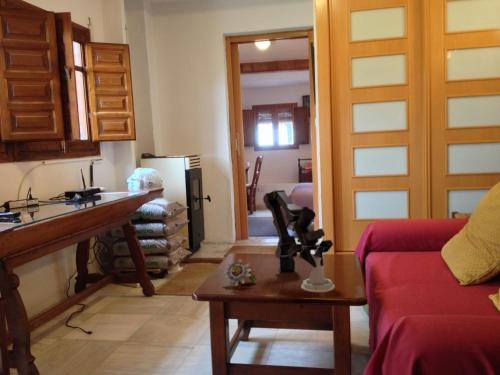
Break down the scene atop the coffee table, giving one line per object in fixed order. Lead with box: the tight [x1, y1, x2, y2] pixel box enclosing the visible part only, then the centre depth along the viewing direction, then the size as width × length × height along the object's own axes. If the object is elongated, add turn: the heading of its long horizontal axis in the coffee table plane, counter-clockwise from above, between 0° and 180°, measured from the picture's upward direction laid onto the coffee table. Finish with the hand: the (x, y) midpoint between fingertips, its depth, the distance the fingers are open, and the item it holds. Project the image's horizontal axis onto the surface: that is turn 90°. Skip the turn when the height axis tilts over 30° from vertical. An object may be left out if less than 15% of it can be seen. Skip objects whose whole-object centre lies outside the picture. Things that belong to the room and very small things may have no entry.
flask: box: [308, 256, 326, 285], centre depth 170 cm, size 7×7×10 cm
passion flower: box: [222, 258, 257, 287], centre depth 179 cm, size 11×11×12 cm
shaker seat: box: [300, 277, 335, 293], centre depth 170 cm, size 13×13×2 cm
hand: (319, 266), depth 169 cm, fingers closed on flask, 3 cm apart
